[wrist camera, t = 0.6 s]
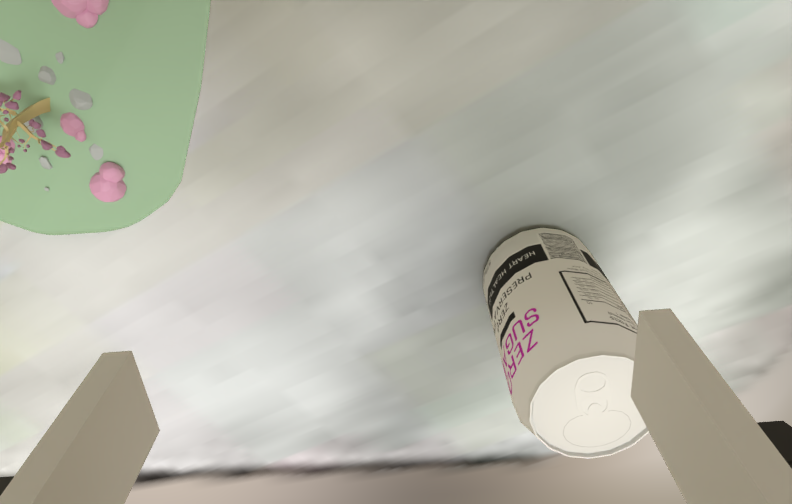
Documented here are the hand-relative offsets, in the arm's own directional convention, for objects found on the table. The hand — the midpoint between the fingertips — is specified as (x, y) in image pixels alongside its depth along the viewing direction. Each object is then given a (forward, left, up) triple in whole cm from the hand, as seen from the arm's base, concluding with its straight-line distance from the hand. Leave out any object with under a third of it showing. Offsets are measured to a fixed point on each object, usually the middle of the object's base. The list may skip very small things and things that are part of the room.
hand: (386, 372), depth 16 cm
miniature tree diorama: (-7, -20, -28) cm, 35 cm away
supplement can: (+13, +9, -27) cm, 32 cm away
